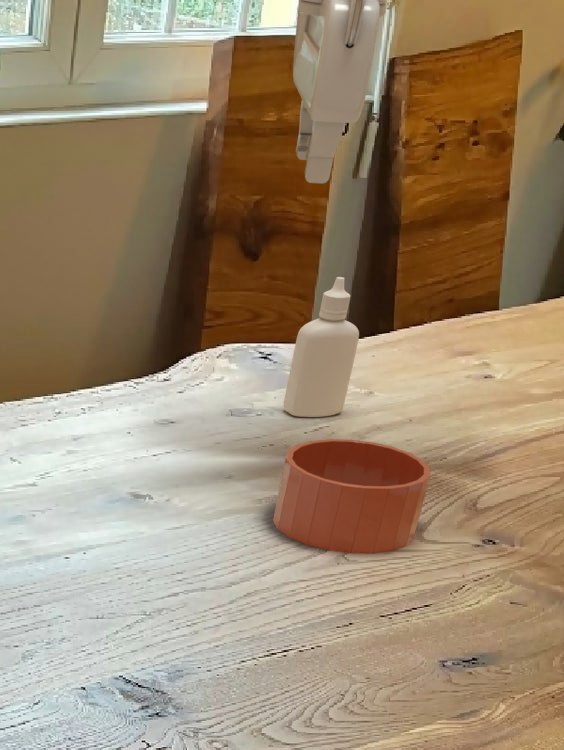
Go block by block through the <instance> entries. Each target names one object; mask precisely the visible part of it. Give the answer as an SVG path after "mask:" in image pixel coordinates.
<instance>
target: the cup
mask: <svg viewBox="0 0 564 750" xmlns="http://www.w3.org/2000/svg"><path fill="white" fill-rule="evenodd" d="M285 455H286V457H285V460H284V465H283V469H282V475H281V479H280V483H279V489H278V494H277V497H276V498H277V499H276V504H275V508H274V512H273V513H274V514H273V517H272V518H273V519H272V522H273V524H274V526H275V528H276V529H277V530H278V531H279V532H281V533H282V534H284V535H285V536H287V537H288V538H290V539H292V540H294V541H296V542H299V543H302V544H304V545H307V546H311V547H314V548H317V549H322V550H324V551H325V550H326V551H331V552H339V553H346V554H370V555H371V554H381V553H389V552H394V551H396V550H399V549H403V548H405V547H408V545H409V544H410V543H412V541H414V539H415V535H416V532H417V527H418V524H419V519H420V516H421V512H422V508H423V505H424V501H425V498H426V494H427V490H428V487H429V483H430V479H431V467H430V465H428V464H427V462H426V461H425V460H424V459H422V458H420V457H418V456H417V455H415V454H413V453H411V452H408V451H406V450H403V449H400V448H397V447H394V446H391V445H387V444H383V443H379V442H378V443H377V442H373V441H367V440H366V441H365V440H358V439H357V440H356V439H339V438H338V439H337V438H330V439H329V438H328V439H318V440H309V441H305V442H303V443H299V444H296V445H294V446H293V447H291V448H289V449H288V450H287V452H286V454H285Z"/></svg>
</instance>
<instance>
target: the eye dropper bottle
mask: <svg viewBox="0 0 564 750" xmlns="http://www.w3.org/2000/svg"><path fill="white" fill-rule="evenodd" d="M350 301H351V294H350V293H349V292H347V291H346V290H345V277H343V276H336V278H335V280H334V283H333V285H332V288H331V289H329V290H326V291H325V292H323V293H322V299H321V303H320V308H319V312H318V318H315V319H314V320H311V321H309V322H307V323H305V324H304V325H303V326H302V327H301V328H299V330H298V333H297V335H296V340H295V345H294V349H293V354H292V359H291V364H290V368H289V374H288V379H287V384H286V388H285V393H284V398H283V403H282V407H283V410H284V411H285V412H287V413H288V414H290V415H292V416H294V417H300V418H321V417H322V418H323V417H330V416H334V415H335V416H336V415H337V414H340V413H341V412H342V411H343V409H344V406H345V402H346V397H347V393H348V389H349V385H350V380H351V376H352V371H353V366H354V362H355V359H356V358H355V357H356V352H357V349H358V343H359V338H360V331H359V329H358V327H357V326H356V325H355V324H354V323H352V322H350V321H348V320H345V319H346V318H347V314H348V310H349V306H350Z"/></svg>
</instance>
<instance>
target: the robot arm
mask: <svg viewBox="0 0 564 750" xmlns="http://www.w3.org/2000/svg"><path fill="white" fill-rule="evenodd" d="M387 2H388V0H298V4H297V5H298V6H297V16H296V29H295V37H294V38H295V39H294V49H293V50H294V51H293V68H292V70H293V72H292V73H293V74H292V75H293V77H292V78H293V83H294V85H295V88H296V89H297V92H298V94H299V96H300V98H301V103H300V111H299V125H298V126H299V129H298V137H297V142H296V147H295V154H296V156H297V158H298V159H299V161H300V160H301V161H306V162H305V168H304V171H303V172H304V173H303V174H304V179H305V181H306V182H307V183H309V184H321V185H322V184H326V183H327V182H329V179H330V177H331V172H332V168H333V163H334V158H335V155H336V152H337V150H338V146H339V145H340V141H341V138H342V136H343V132H344V126H345V124H354V123H356V122H358V121H359V119H360V118H361V114H362V112H363V109H364V106H365V102H366V96H367V91H368V85H369V81H370V75H371V69H372V64H373V59H374V53H375V47H376V42H377V36H378V30H379V20H380V18H381V17H383V16H384V15H385V14H386V13H385V12H386V7H387V4H386V3H387Z"/></svg>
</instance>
